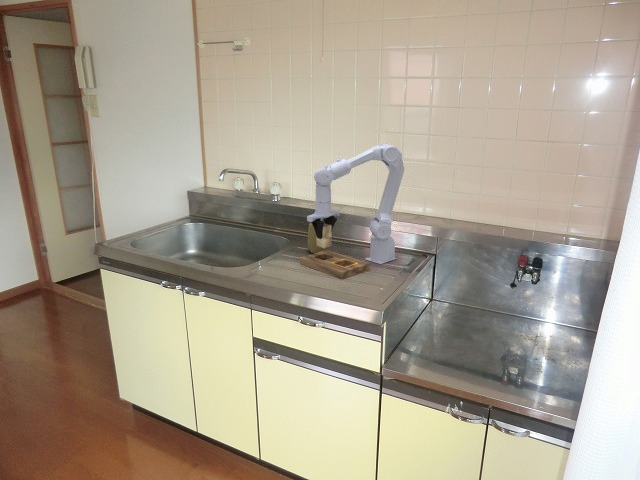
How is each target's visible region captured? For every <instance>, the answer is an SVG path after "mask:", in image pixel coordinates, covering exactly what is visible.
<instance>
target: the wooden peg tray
mask: <svg viewBox="0 0 640 480" xmlns="http://www.w3.org/2000/svg"><path fill="white" fill-rule="evenodd" d="M299 265H302V266H305V267H308V268H311V269H314V270H315V271H317V272H318V271H319V272H321V273H325V274H327V275H330V276H332V277H334V278H338V279H341V280H344V279H346V278H350V277H353V276H355V275H359V274H362V273H365V272H368V271H370V270H371V263H370V262H367V261H363V260H361V259H357V258H354V257H350V256H348V255H344V254H341V253H339V252H335V251H331V250H329V249H325V251H322V252H318V253H312V254H308V255H305V256H300V257H299Z"/></svg>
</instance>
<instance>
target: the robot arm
mask: <svg viewBox="0 0 640 480" xmlns="http://www.w3.org/2000/svg"><path fill="white" fill-rule="evenodd" d="M370 161H379V162H383V163H384V165H385V166H386V168H387V170H388V171H389V172H388V175H387V178H386V182H385V185H384V189H383V192H382V195H381V199H380V203H379V206H378V210H377V212H376V213H374V217H373V219H372V220H371V221H370V223H369V225H368V227H369V231H370V232H371V235H370V238H369V239H370V244H369V245H370V247H369V251H370V252H369V257H366V258H365V261H369V262H371V263H372V262H373V263H375V264H378V265H382V264H384V263H385V264H386V263H387V262H390V261H394V260H396V259H397V257H396V258H395V255H396V254H395V253H396V251H395V250H396V242H395V239H394V238H393V236H391V234H392V227H391V226H392V223H393V221H392V214H393V210H394V208H395V207H394V206H395V203H396V200H397V197H398V196H397V195H398V194H399V193H398V192H399V189H400V186H401V183H402V180H403V176H404V174H405V166H404V165H405V164H404V161H403V153H402V152H401V150H400V149H399V148H398V147H397V146H396V145H394V144H389V143H385V142H384V143H381V144H379V145H374V146H372V147H370V148H369V149H366V150H365V151H363V152H361V153H359V154H357V155H355V156H354V157H351V158H350V159H346V158H342V159H341V158H337V159H336V161H335V162H333V163H331V164H329V165H328V164H326V165H324V167H320V168H318V169H317V170H316V171H315V173H314V175H313V178H314V180H315V209H316V212H315V211H314V212H315V213H312V214H310V215H307V216H306V221H307V222H309V223H312V225H313V227H314V229H315V232H316V236H317V238H319V239H322V230H323V225H324V224H328V225H331V234H333V230H334V226H335V224H336V222H337V219H338V218H337V217H339V216H340V210H338V209H333V210H332V188H331V187H332V185H331V184H332V182H333V181H337V180H338V179H341V178H342V177H344V176H346V175H349V174H350V173H351V171H352V169H354V168H356V167H357V166H360V165H363V164H365V163H368V162H370ZM320 219H323V221H321V220H320Z"/></svg>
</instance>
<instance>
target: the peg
mask: <svg viewBox="0 0 640 480" xmlns="http://www.w3.org/2000/svg"><path fill="white" fill-rule="evenodd" d="M332 241H333V240H332V233H331V225H328V224H325V223H324V225H323V230H322V239H319V238H317V236H316V242H317V246H318V247H322V248H325V249H326V248H329V247H332Z"/></svg>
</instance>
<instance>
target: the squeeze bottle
mask: <svg viewBox="0 0 640 480" xmlns="http://www.w3.org/2000/svg"><path fill="white" fill-rule="evenodd" d="M313 212H314V213H315V212H316V208H315V209H314V211H313ZM314 213H313V214H314ZM320 220H321V221H323V222H324V219H320ZM306 241H307V247H308V248H309V249H308V250H309V252H310V253H312V254H314V253H318V252H322V251H325V250H326V248H322V247H318V246H317V242H316V232H315V229H314V227H313V225H312V223H311V222H309V224H308V231H307V240H306Z"/></svg>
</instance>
